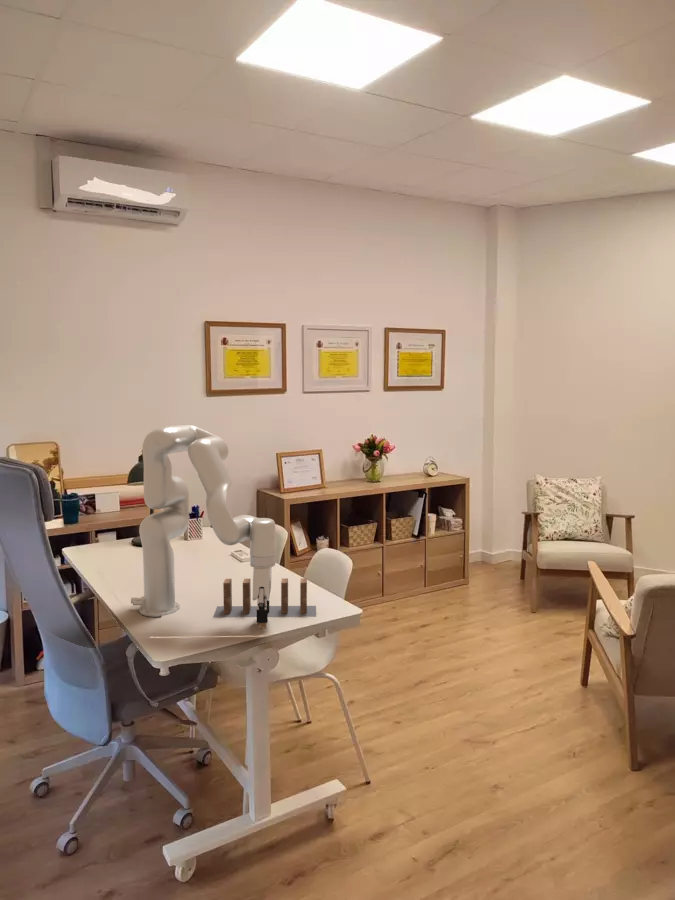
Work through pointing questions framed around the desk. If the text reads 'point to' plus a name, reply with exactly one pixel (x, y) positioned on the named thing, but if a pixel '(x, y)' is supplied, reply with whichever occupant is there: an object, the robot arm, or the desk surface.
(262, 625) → the domino
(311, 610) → the mat
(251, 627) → the desk surface
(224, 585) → the domino
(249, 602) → the domino
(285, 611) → the domino
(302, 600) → the domino
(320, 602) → the desk surface
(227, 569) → the desk surface
